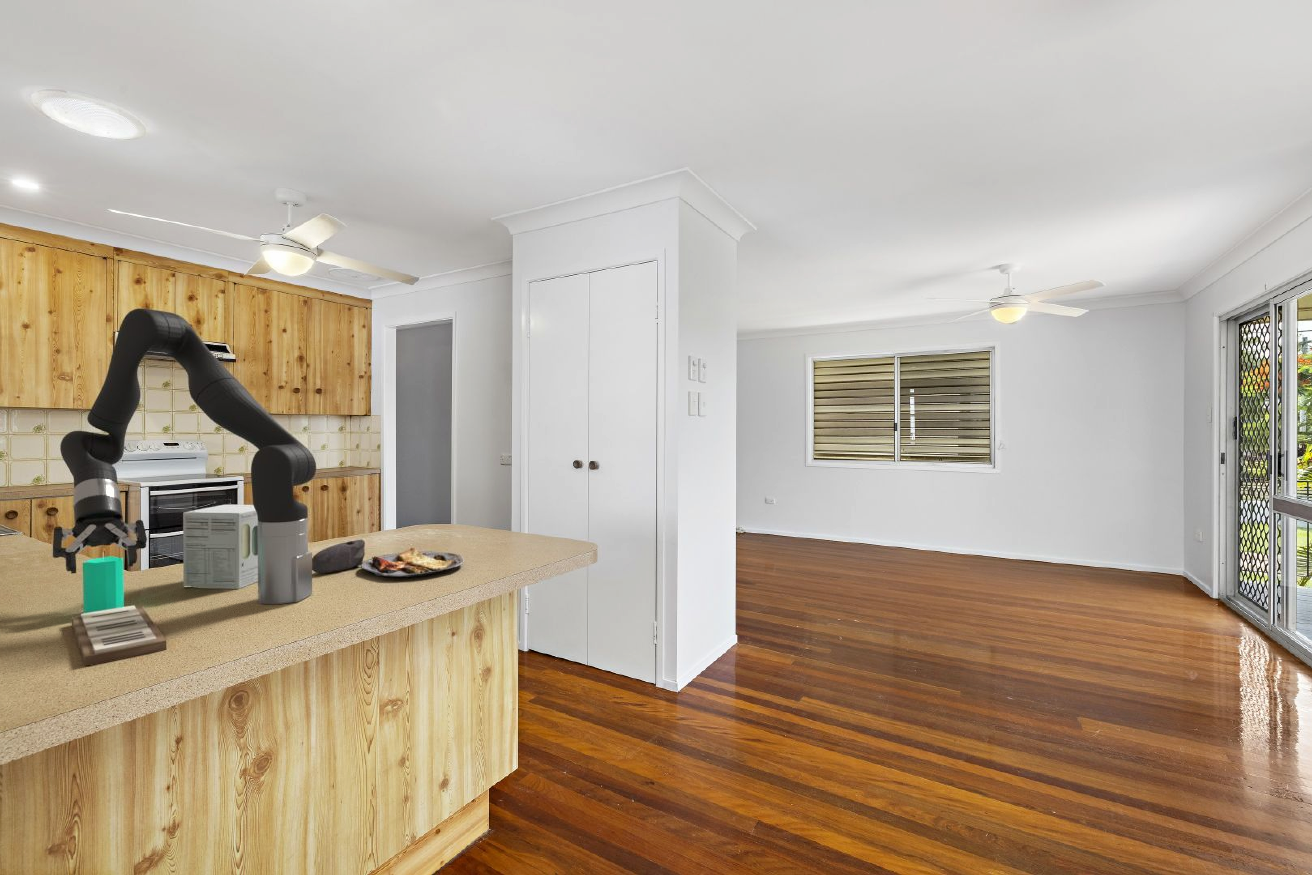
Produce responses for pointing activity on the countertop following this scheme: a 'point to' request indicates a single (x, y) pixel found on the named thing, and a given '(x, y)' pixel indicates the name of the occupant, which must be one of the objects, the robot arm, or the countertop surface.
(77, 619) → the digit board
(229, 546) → the supplement box
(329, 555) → the perforated stone tool
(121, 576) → the candle
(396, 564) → the food plate
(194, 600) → the countertop surface
